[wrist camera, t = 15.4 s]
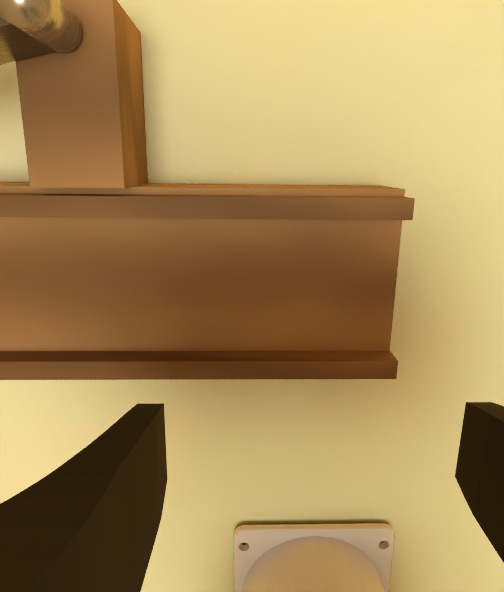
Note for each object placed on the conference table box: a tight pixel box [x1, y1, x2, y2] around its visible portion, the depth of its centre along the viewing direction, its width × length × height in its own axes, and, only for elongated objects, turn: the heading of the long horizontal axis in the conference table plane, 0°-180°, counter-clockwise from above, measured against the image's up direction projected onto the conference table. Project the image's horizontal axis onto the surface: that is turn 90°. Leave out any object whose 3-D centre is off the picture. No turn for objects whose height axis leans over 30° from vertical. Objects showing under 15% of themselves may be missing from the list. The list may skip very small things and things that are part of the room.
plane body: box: [0, 0, 414, 380], centre depth 17 cm, size 12×16×4 cm
